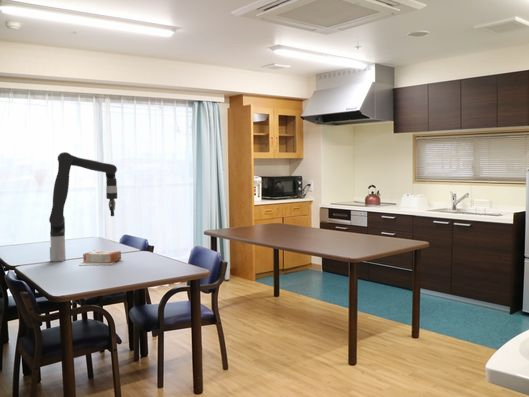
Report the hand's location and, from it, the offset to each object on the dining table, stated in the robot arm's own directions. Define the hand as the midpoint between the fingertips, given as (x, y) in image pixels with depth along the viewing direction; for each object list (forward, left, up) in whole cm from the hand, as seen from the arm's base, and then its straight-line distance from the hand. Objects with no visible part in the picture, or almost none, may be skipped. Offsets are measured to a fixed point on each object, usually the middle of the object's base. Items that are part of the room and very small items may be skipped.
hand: (112, 216), depth 355 cm
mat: (-6, -24, -29) cm, 38 cm away
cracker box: (+6, -23, -26) cm, 35 cm away
